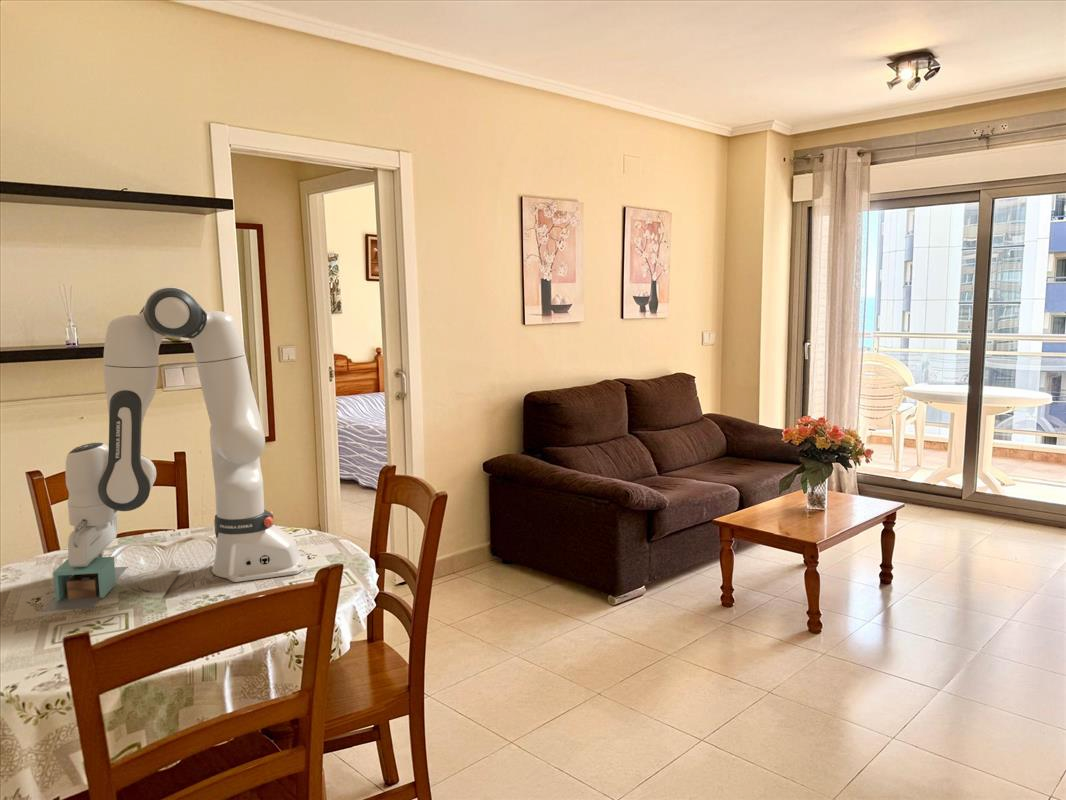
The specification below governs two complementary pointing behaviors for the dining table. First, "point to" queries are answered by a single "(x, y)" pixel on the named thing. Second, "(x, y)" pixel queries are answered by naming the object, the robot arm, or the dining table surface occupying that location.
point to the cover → (98, 565)
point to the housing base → (80, 602)
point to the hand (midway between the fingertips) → (95, 571)
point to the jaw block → (83, 586)
